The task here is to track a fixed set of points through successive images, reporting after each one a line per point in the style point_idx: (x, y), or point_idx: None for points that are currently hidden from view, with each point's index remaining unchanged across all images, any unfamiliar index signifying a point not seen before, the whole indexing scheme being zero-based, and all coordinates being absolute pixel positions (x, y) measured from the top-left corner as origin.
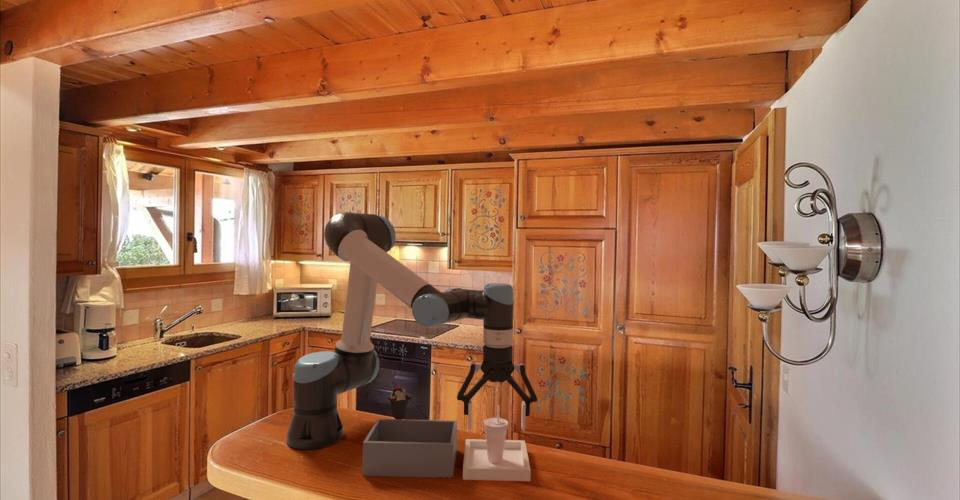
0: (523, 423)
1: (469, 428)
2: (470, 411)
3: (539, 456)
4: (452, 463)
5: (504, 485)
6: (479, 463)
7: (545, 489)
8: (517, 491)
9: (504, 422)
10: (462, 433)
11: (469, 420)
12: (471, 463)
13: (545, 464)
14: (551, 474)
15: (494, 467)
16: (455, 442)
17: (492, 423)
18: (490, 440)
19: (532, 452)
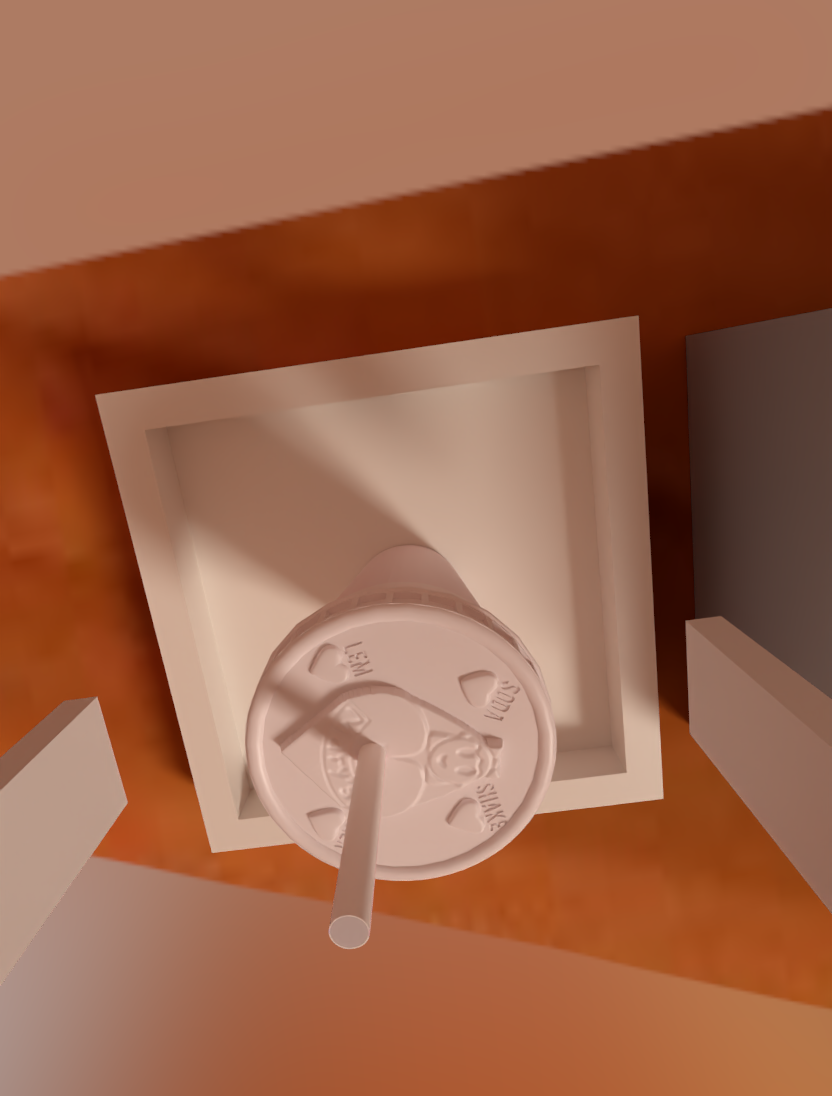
0: (35, 741)
1: (708, 621)
2: (828, 732)
3: (122, 742)
4: (742, 325)
5: (305, 302)
6: (516, 525)
7: (15, 302)
8: (203, 235)
9: (289, 747)
10: (682, 959)
11: (760, 662)
12: (575, 513)
13: (67, 643)
14: (7, 516)
15: (384, 381)
16: (764, 624)
17: (439, 708)
18: (445, 582)
19: (176, 786)
